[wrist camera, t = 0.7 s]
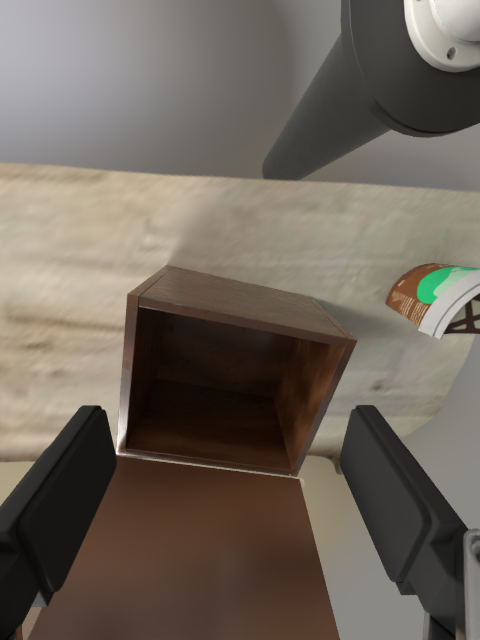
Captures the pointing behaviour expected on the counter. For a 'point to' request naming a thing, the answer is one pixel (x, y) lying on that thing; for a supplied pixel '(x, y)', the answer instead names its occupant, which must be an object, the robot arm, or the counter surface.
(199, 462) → the chest
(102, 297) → the counter surface
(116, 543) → the lid
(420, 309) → the food container
